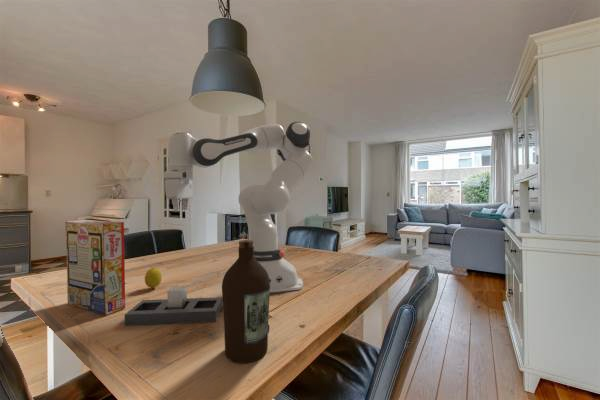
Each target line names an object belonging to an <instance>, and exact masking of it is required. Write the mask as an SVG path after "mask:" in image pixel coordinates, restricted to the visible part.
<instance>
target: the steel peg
mask: <svg viewBox="0 0 600 400" xmlns="http://www.w3.org/2000/svg"><path fill="white" fill-rule="evenodd" d="M187 290H188V287H187V285H177V286H176V285H175V286H171V287H170V288H169V289H168V290H167V293H166V294H167V299H168V310H171V309H184V308H185V307H186V306H187V299H188V298H187V296H188V295H187V294H188V293H187Z"/></svg>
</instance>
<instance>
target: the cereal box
mask: <svg viewBox="0 0 600 400" xmlns="http://www.w3.org/2000/svg"><path fill="white" fill-rule="evenodd" d="M124 223H125V222H124V221H111V220H110V221H108V220H107V221H106V220H105V221H104V220H88V219H81V220H80V219H79V220H67V221H65V242H66V243H65V248H66V252H65V253H66V278H67V279H66V284H67V285H66V286H67V287H66V288H67V289H66V290H67V305H69V306H73V307H77V308H81V309H84V310H88V311H91V312H95V313H99V314H101V315H105V316H107V315H111V314H113V313H115V312H119V311H121V310H123V309H125V308H126V281H125V280H126V276H125V275H126V273H125V267H126V265H125V224H124Z"/></svg>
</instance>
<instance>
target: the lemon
mask: <svg viewBox="0 0 600 400" xmlns="http://www.w3.org/2000/svg"><path fill="white" fill-rule="evenodd" d="M144 283H145V285H146V286H147V287H148V288H151V289H155V288H156V287H158V286H159V285H160V284H161V283H162V273H161V271H160V269H158V268H155V267H151V268H150V269H148V270H147V271H146V273H145V276H144Z"/></svg>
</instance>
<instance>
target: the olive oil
mask: <svg viewBox="0 0 600 400" xmlns="http://www.w3.org/2000/svg"><path fill="white" fill-rule="evenodd" d="M238 245H239V246H238V257H237V259H236V260H235V262H234V263H232V265H231V266H230V267H229V268H228V269H227V270H226V272H225V274H224V275H223V278H222V279H223V280H222V283H221V294H222V296H221V297H222V298H223V307H222V311H223V312H222V313H223V329H224V330H223V331H224V353H225V356H226V357H225V358H227V360H228V361H231V362H233V363H237V364H248V363H252V362H253V363H254V362H256V361H259V360H260V359H262V358H264V356H265V355H266V354H267V352H268V344H269V343H268V342H269V339H268V337H269V333H270V325H269V324H270V323H269V315H270V312H269V311H270V296H271V295H270V294H271V293H270V279H269V276H268V273H267V271H266V270H265V269H264V267H263V266H262V265H261V264H260V263H259V262H258V261H257V260H256V259H255V258H254V247H253V241H252V240H249V239H242V240H239V241H238Z"/></svg>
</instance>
